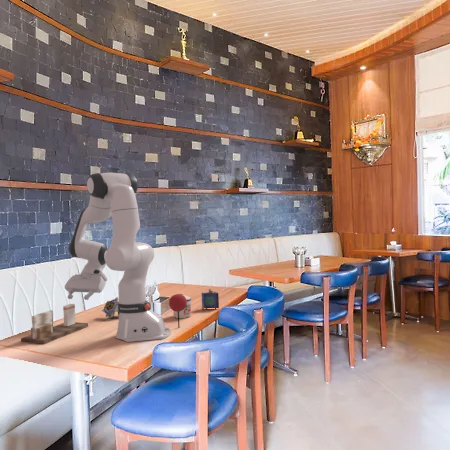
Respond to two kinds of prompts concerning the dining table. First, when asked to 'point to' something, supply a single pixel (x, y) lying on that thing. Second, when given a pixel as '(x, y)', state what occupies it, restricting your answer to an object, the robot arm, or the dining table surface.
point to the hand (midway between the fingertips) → (77, 298)
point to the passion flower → (111, 307)
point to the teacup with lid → (186, 311)
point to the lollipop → (177, 303)
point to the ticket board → (56, 333)
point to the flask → (210, 299)
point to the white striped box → (69, 314)
